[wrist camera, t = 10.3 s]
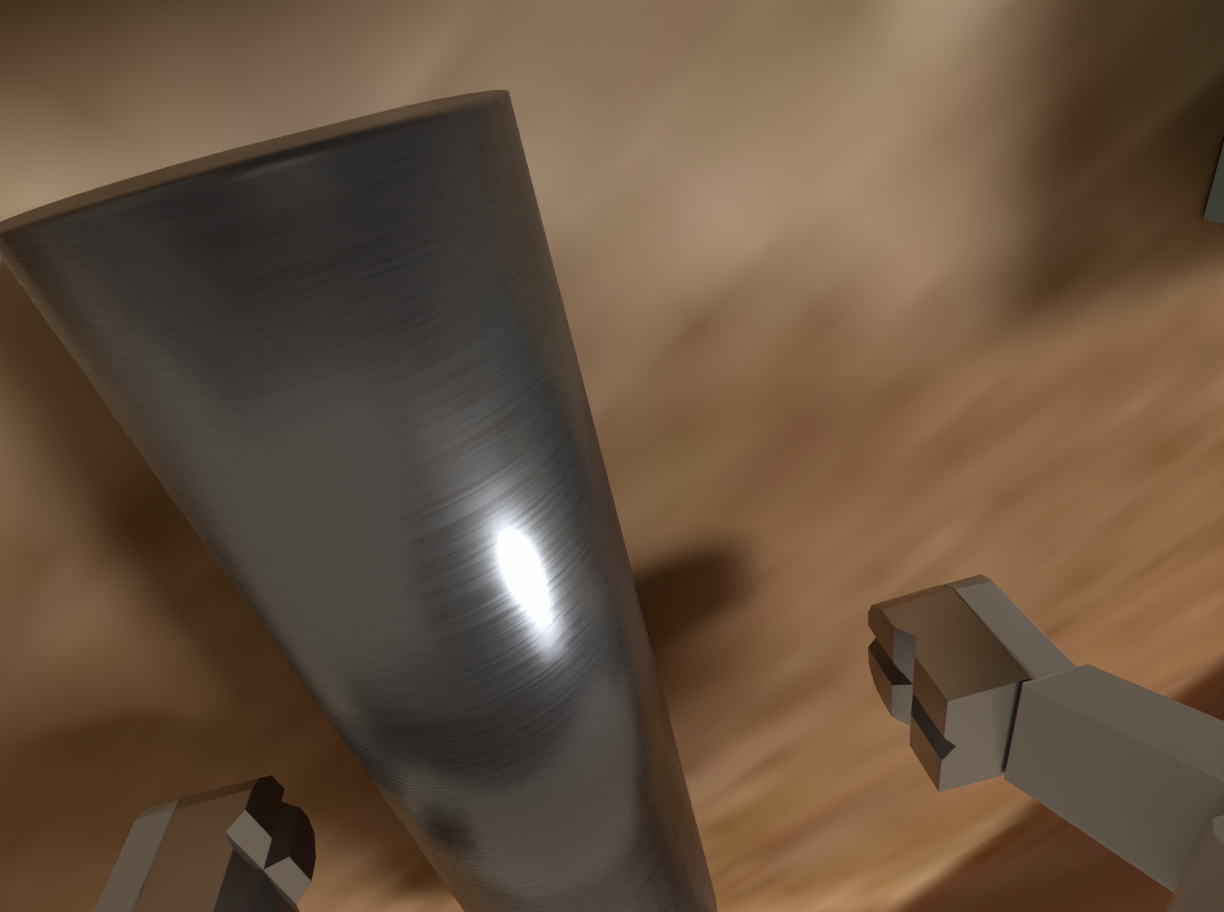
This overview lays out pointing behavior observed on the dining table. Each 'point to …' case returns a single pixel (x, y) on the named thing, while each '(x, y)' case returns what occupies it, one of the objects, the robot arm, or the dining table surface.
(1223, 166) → the v block
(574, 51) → the dining table surface
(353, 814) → the dining table surface
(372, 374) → the axle
